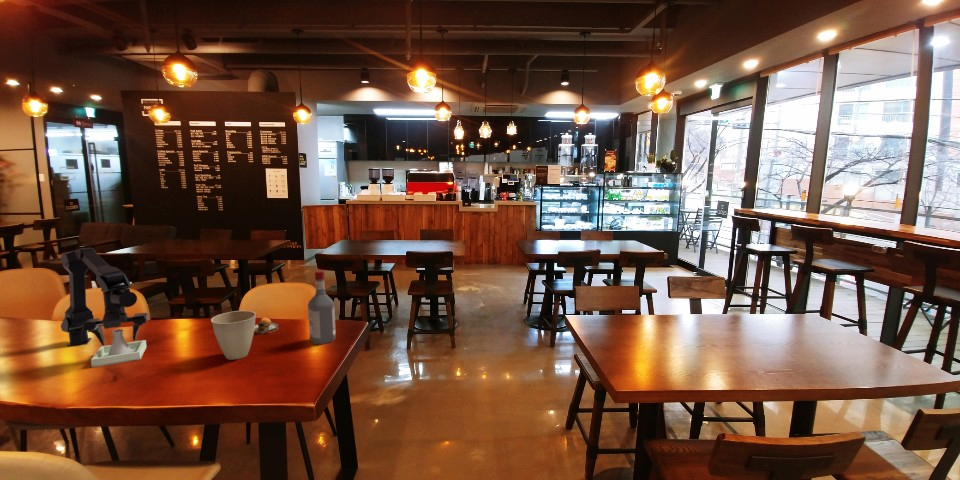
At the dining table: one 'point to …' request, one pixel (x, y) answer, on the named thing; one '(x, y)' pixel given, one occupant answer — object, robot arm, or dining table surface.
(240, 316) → the plant pot
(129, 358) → the tray
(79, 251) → the robot arm
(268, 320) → the burger
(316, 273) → the liquor
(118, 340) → the flask
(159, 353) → the dining table surface
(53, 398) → the dining table surface
